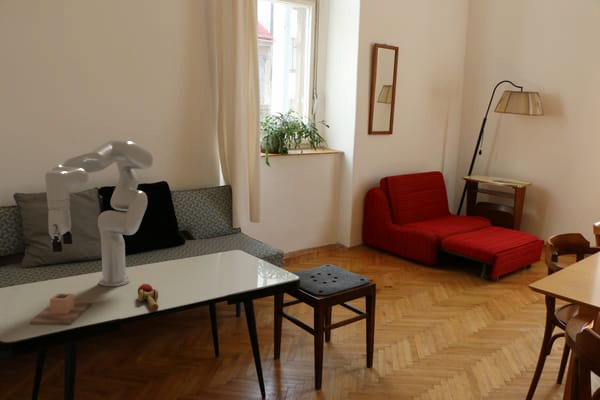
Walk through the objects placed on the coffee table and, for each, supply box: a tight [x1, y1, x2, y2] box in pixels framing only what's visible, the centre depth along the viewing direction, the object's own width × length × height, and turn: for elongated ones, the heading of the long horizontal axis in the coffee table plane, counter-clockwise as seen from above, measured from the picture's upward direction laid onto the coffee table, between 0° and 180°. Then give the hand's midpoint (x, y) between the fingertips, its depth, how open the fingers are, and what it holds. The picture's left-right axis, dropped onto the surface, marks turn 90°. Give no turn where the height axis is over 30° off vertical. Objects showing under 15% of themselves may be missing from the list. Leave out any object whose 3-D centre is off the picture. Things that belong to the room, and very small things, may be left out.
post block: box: [29, 293, 93, 326], centre depth 195 cm, size 20×14×7 cm
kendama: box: [137, 283, 159, 312], centre depth 208 cm, size 8×6×18 cm
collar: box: [49, 293, 75, 314], centre depth 195 cm, size 6×6×6 cm
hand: (62, 247), depth 201 cm, fingers open, 9 cm apart
